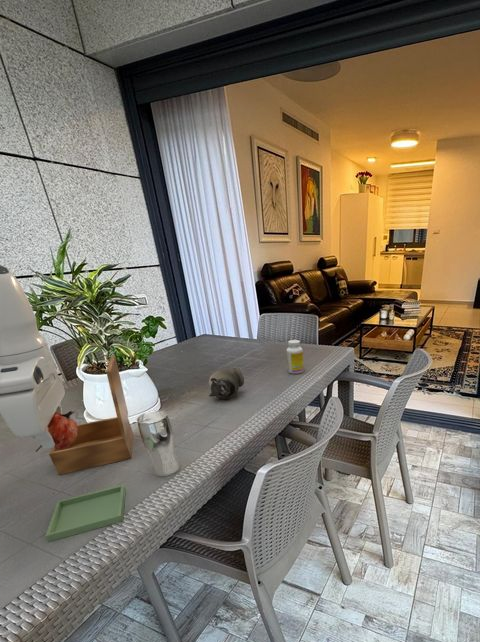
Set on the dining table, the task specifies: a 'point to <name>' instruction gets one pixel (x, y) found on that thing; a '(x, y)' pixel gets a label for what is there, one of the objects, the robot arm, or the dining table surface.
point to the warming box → (94, 446)
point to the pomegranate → (62, 429)
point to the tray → (87, 512)
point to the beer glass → (159, 441)
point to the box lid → (117, 394)
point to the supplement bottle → (295, 357)
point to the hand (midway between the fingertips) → (55, 435)
